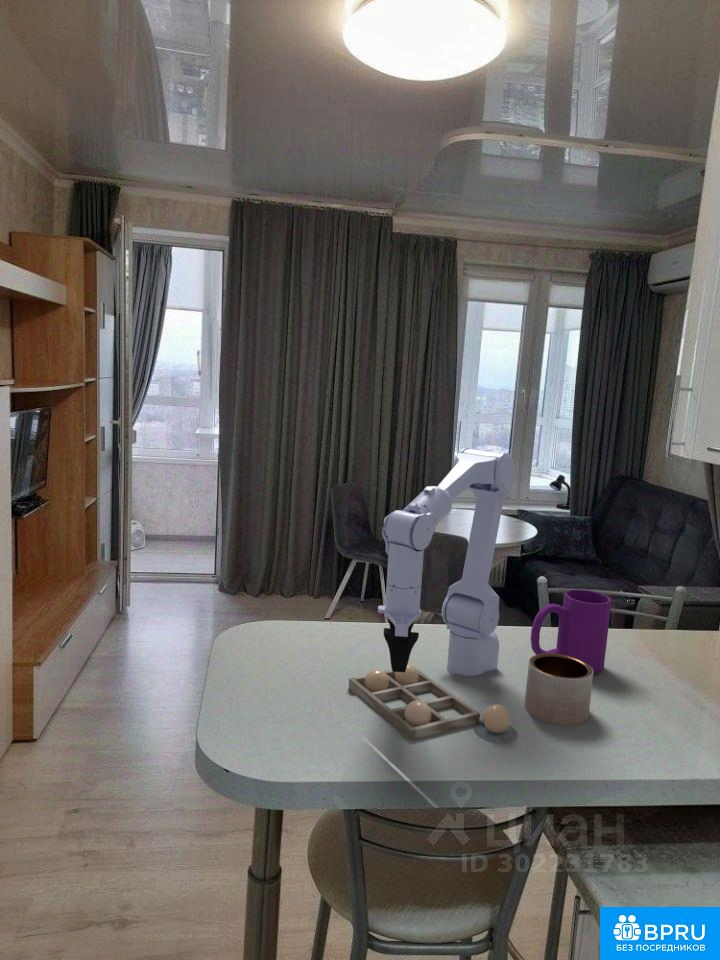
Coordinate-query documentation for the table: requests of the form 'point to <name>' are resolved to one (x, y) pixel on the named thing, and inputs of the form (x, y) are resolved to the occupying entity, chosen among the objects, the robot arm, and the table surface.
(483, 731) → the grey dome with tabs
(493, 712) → the egg loose
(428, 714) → the egg
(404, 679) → the egg
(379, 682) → the egg
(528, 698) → the planter
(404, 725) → the carton
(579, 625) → the mug
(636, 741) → the table surface
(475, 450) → the robot arm
